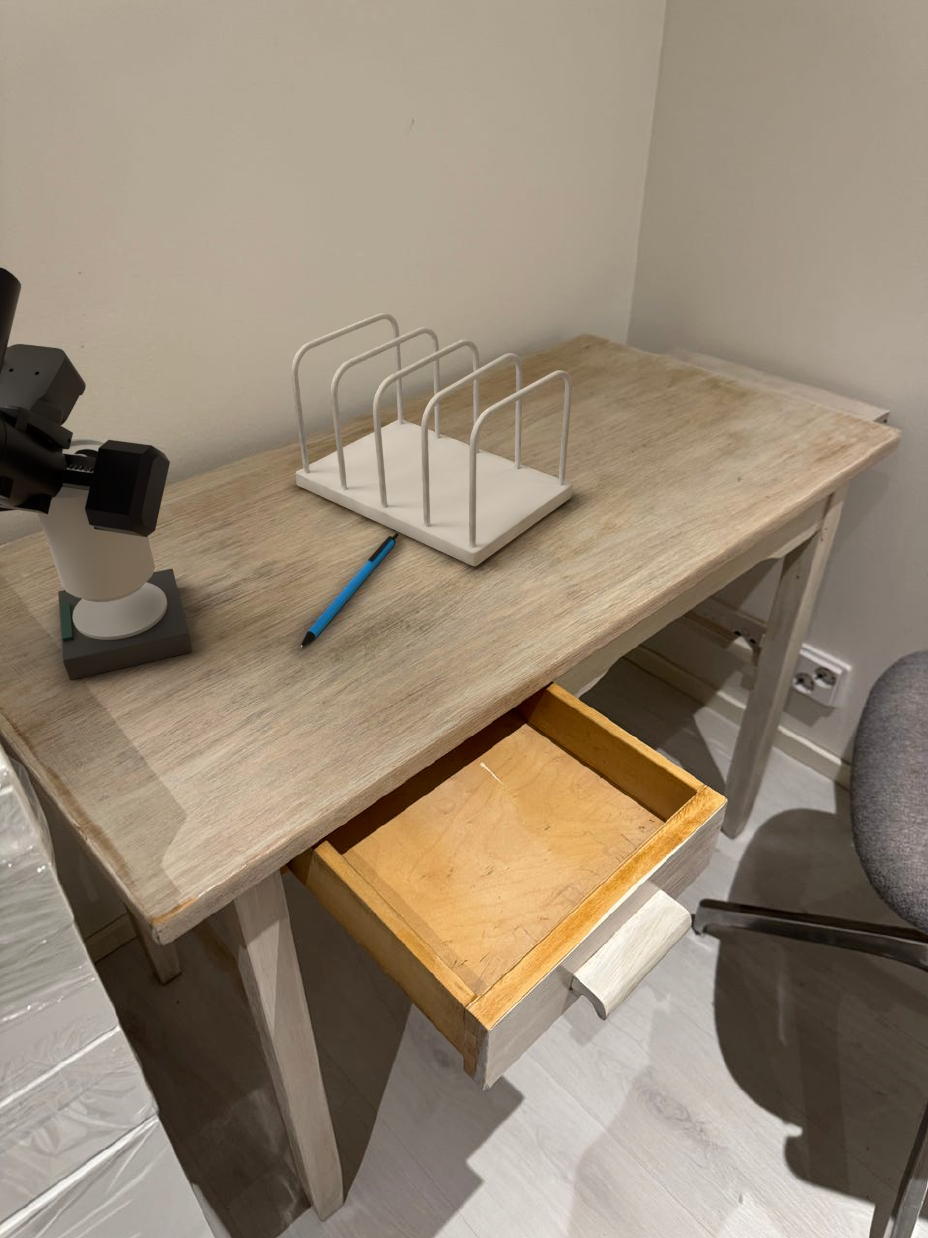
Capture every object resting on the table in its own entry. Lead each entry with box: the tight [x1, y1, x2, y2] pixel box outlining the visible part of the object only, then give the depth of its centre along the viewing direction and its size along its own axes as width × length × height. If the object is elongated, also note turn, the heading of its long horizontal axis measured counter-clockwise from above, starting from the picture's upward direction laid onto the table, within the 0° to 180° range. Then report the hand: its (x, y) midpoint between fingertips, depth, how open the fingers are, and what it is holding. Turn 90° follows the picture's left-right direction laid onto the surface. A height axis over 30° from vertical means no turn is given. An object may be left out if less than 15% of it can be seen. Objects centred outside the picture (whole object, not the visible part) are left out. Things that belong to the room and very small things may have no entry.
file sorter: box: [290, 312, 573, 567], centre depth 93 cm, size 25×17×16 cm
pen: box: [299, 532, 400, 648], centre depth 84 cm, size 1×19×1 cm, turn 158°
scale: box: [57, 568, 193, 681], centre depth 78 cm, size 10×10×3 cm
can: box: [37, 436, 156, 602], centre depth 71 cm, size 8×8×12 cm
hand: (101, 505), depth 72 cm, fingers closed on can, 7 cm apart
